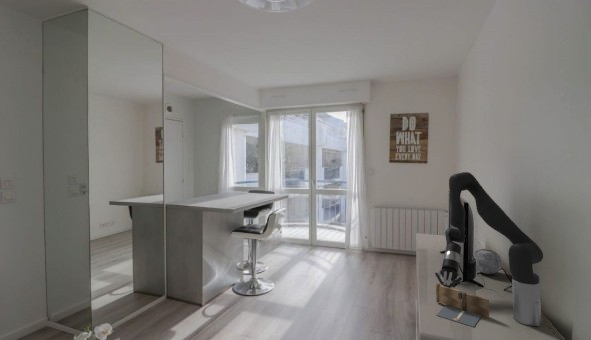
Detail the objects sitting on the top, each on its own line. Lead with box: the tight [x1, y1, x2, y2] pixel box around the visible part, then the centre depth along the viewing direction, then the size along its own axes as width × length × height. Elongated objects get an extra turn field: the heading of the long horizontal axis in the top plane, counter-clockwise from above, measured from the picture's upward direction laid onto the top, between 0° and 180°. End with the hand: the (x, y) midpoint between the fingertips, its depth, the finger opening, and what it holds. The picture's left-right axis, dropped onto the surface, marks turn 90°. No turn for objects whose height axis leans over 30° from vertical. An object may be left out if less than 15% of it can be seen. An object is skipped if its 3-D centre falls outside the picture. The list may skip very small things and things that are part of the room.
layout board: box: [436, 304, 483, 328], centre depth 135 cm, size 15×17×1 cm
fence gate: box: [435, 283, 462, 308], centre depth 142 cm, size 11×2×9 cm, turn 46°
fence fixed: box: [461, 291, 490, 319], centre depth 135 cm, size 11×2×8 cm, turn 46°
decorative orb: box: [473, 248, 502, 275], centre depth 181 cm, size 15×14×15 cm
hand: (445, 293), depth 146 cm, fingers closed
